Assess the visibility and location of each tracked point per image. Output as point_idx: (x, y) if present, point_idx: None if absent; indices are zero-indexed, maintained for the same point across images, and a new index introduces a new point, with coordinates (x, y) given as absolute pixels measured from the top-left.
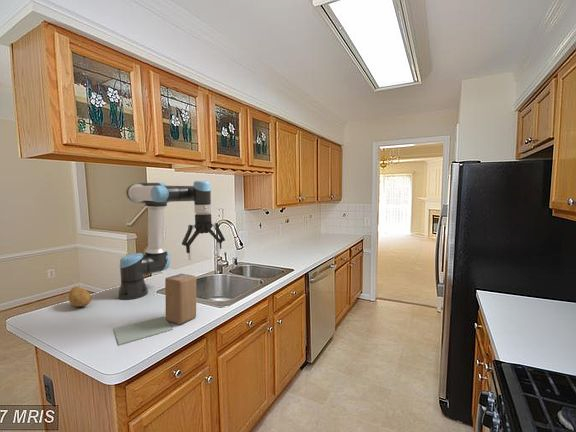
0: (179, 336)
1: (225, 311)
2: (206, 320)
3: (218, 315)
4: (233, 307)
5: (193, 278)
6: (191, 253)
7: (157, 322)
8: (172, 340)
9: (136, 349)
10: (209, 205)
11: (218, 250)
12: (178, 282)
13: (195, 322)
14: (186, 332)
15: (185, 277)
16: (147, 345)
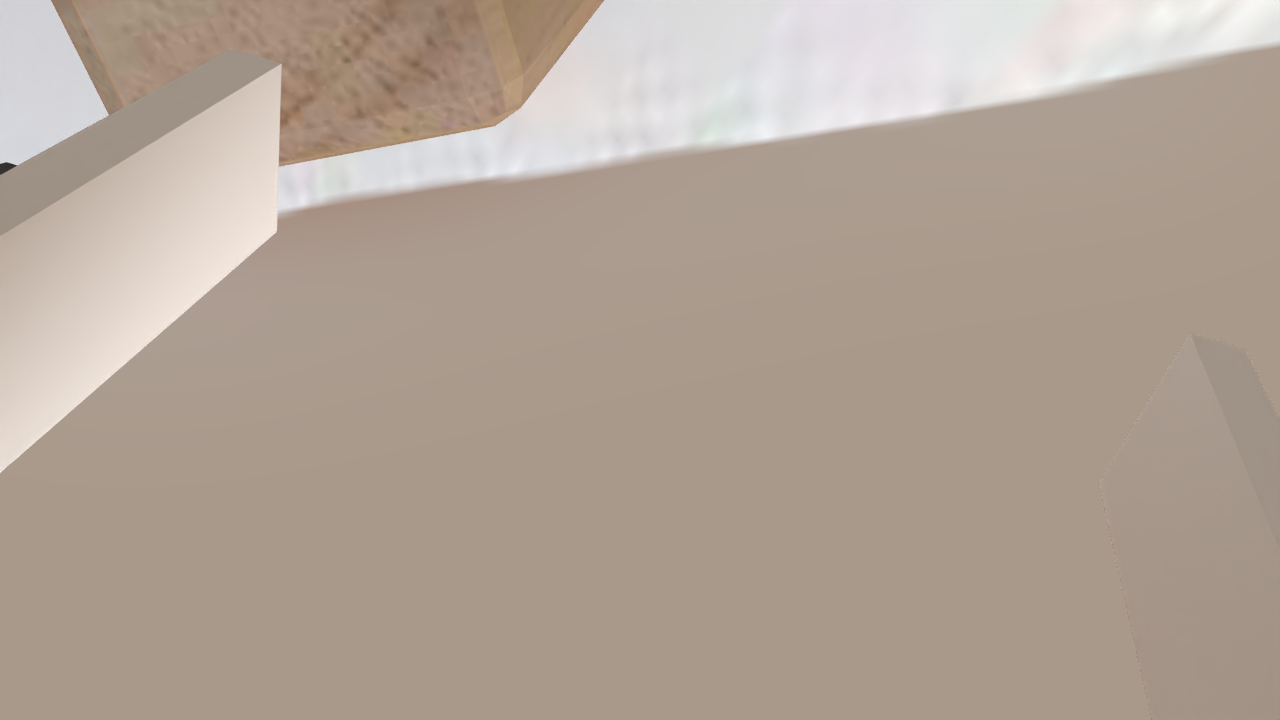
0: (348, 171)
1: (1013, 77)
2: (696, 97)
3: (871, 101)
4: (1184, 61)
5: (444, 133)
6: (142, 332)
7: None
8: (280, 183)
9: (18, 79)
10: None
11: (1132, 629)
12: None
13: (586, 39)
14: (422, 157)
15: (281, 80)
16: None
